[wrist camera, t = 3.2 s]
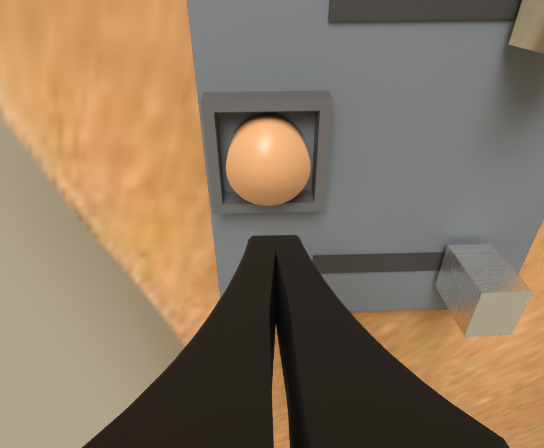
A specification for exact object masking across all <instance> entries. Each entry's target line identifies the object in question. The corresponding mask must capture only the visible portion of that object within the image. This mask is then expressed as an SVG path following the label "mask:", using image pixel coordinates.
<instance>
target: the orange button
mask: <svg viewBox="0 0 544 448" xmlns="http://www.w3.org/2000/svg"><path fill="white" fill-rule="evenodd" d="M226 173H227V178H228V181H229V183H230V185H231V186H232V188H233V189H234V191H235V192H236V193H237V194H238V195H239V196H240V197H242V198H243V199H245V200H247V201H248V202H251V203H253V204H257V205H262V206H274V205H279V204H282V203H285V202H287V201H289V200H291V199H293V198H294V197H295V196H297V195H298V194H299V193H300V192H301V191H302V189H303V188H304V187H305V185H306V183H307V181H308V179H309V175H310V158H309V155H308V151H307V148H306V144H305V141H304V138H303V135H302V133H301V131H300V130H299V128H298V127H297V126H296V125H295V124H294V123H293V122H292V121H290V120H289V119H287V118H285V117H283V116H281V115H278V114H272V113H263V114H258V115H254V116H251V117H250V118H248V119H246V120H245V121H243V122H242V123H241V124H240V125H239V126H238V127H237V128H236V129H235V131H234V133H233V135H232V137H231V140H230V144H229V150H228V155H227V161H226Z"/></svg>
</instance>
